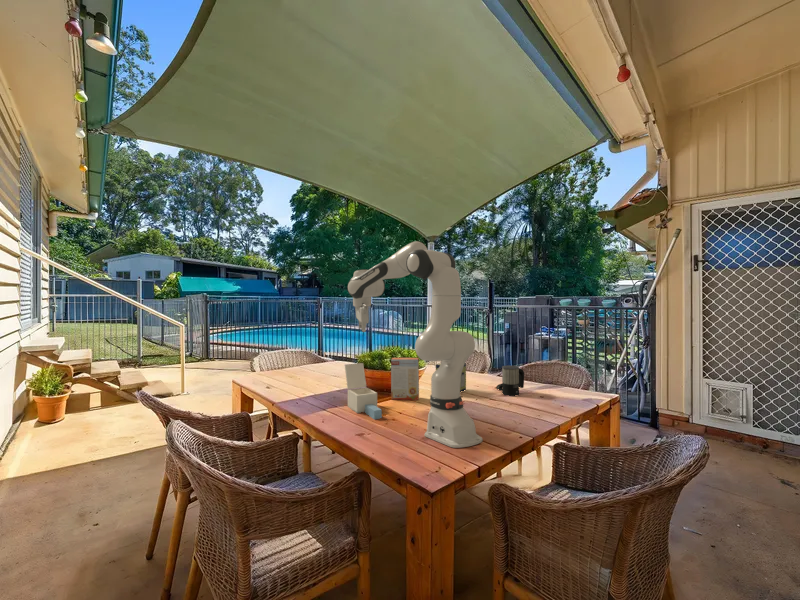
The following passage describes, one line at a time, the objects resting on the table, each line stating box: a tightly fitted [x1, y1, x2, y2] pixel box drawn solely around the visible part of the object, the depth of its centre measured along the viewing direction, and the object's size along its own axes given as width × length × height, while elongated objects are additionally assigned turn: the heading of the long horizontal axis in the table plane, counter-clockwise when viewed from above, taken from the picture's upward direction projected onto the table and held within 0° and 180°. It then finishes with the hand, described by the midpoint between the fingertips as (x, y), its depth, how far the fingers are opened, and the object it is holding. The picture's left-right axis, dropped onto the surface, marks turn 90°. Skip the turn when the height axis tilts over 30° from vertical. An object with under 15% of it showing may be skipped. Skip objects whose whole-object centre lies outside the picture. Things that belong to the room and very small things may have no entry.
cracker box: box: [390, 357, 420, 401], centre depth 195 cm, size 14×6×21 cm, turn 84°
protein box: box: [435, 362, 467, 393], centre depth 208 cm, size 10×16×16 cm
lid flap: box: [344, 362, 367, 390], centre depth 185 cm, size 12×10×1 cm
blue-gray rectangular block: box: [364, 404, 383, 421], centre depth 167 cm, size 10×4×4 cm, turn 28°
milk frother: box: [495, 364, 525, 397], centre depth 207 cm, size 14×16×15 cm
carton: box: [347, 387, 378, 414], centre depth 178 cm, size 12×10×8 cm
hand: (362, 330), depth 188 cm, fingers open, 8 cm apart
